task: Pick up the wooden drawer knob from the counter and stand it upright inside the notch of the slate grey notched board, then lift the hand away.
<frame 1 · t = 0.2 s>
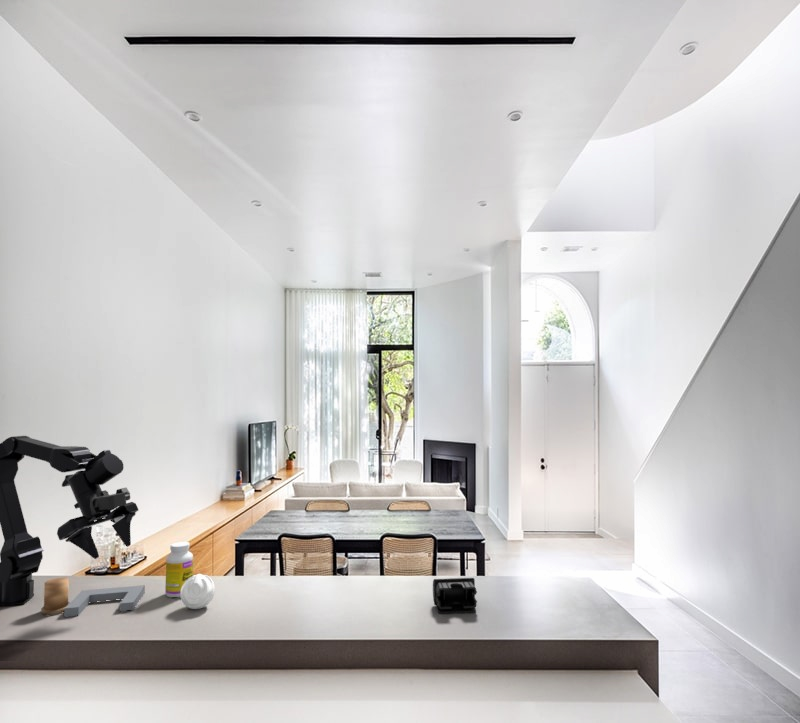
hand: (113, 551, 130), 15 cm above the kitchen counter, tool tilted 30°, fingers open, 9 cm apart
white rounded piece: (197, 608, 132), on the kitchen counter
notched board: (106, 604, 135), on the kitchen counter
wooden drawer knob: (56, 610, 131), on the kitchen counter
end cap: (455, 609, 131), on the kitchen counter
supplement bottle: (179, 594, 141), on the kitchen counter
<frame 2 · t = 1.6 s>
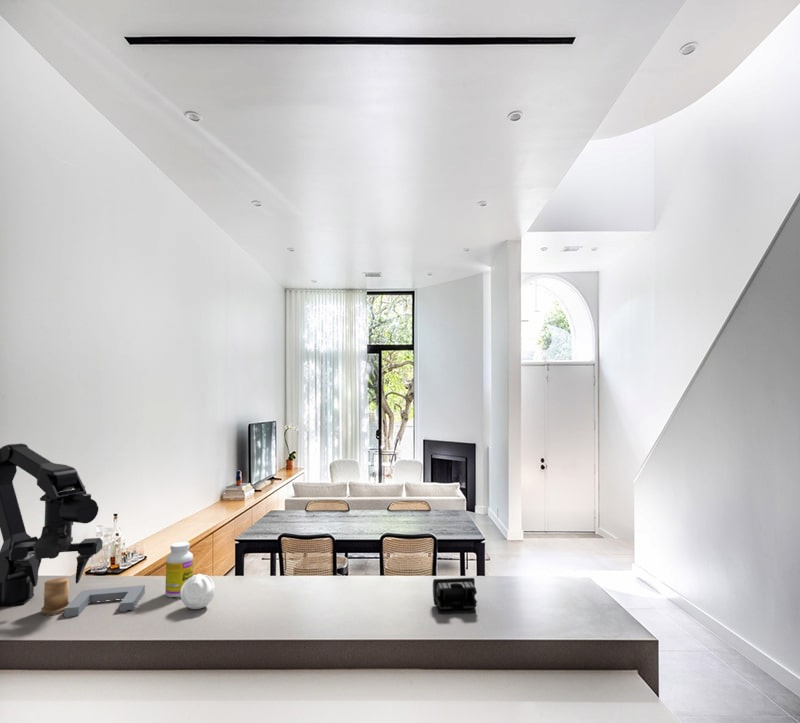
hand: (56, 584, 132), 6 cm above the kitchen counter, tool pointing down, fingers open, 9 cm apart
nothing on the kitchen counter moved.
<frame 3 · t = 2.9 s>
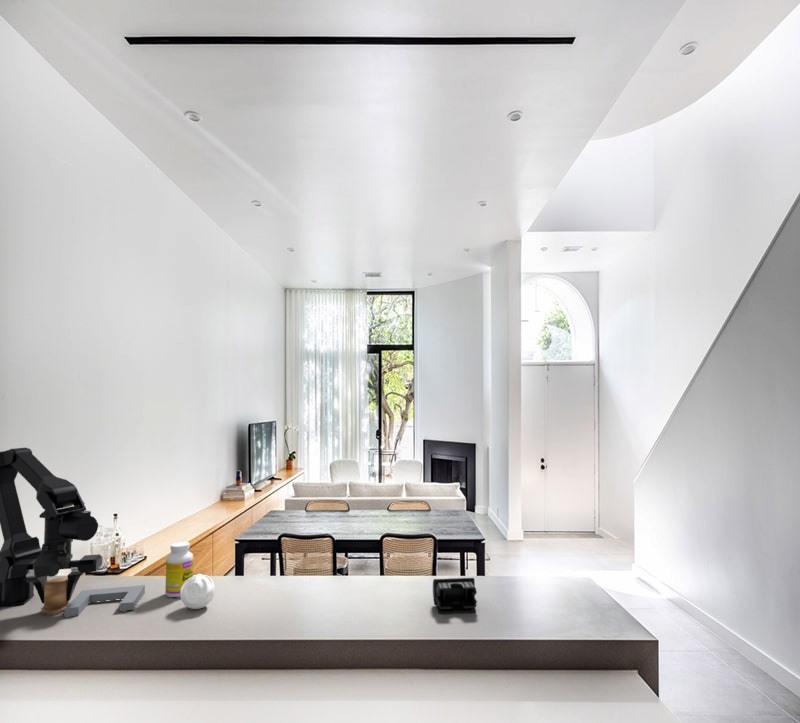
hand: (56, 601, 131), 2 cm above the kitchen counter, tool pointing down, fingers closed on wooden drawer knob, 5 cm apart
wooden drawer knob: (55, 610, 131), on the kitchen counter, touching gripper
everything else where it was.
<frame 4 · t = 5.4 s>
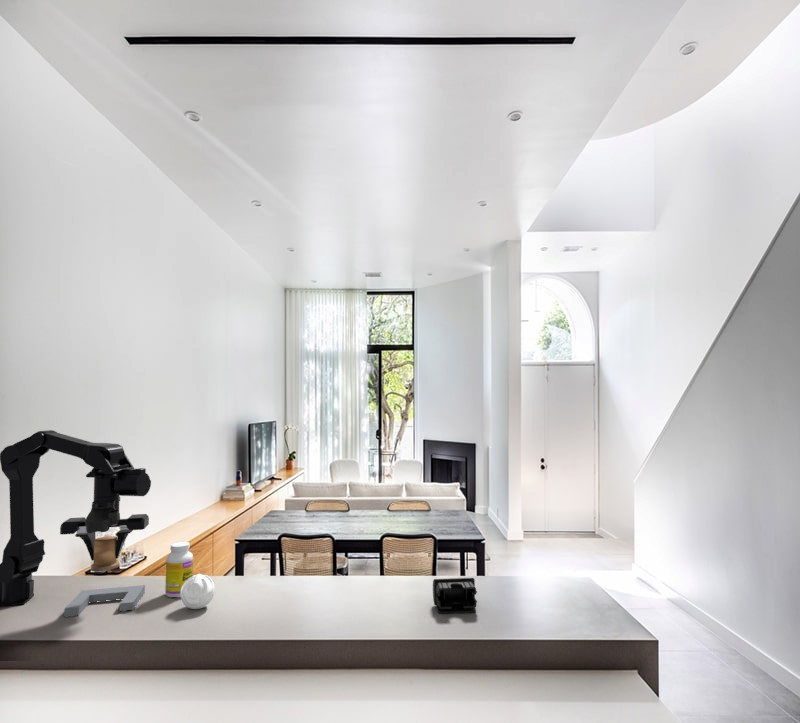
hand: (105, 559, 133), 12 cm above the kitchen counter, tool pointing down, fingers closed on wooden drawer knob, 5 cm apart
wooden drawer knob: (104, 567, 133), point 10 cm above the kitchen counter, touching gripper
everything else where it was.
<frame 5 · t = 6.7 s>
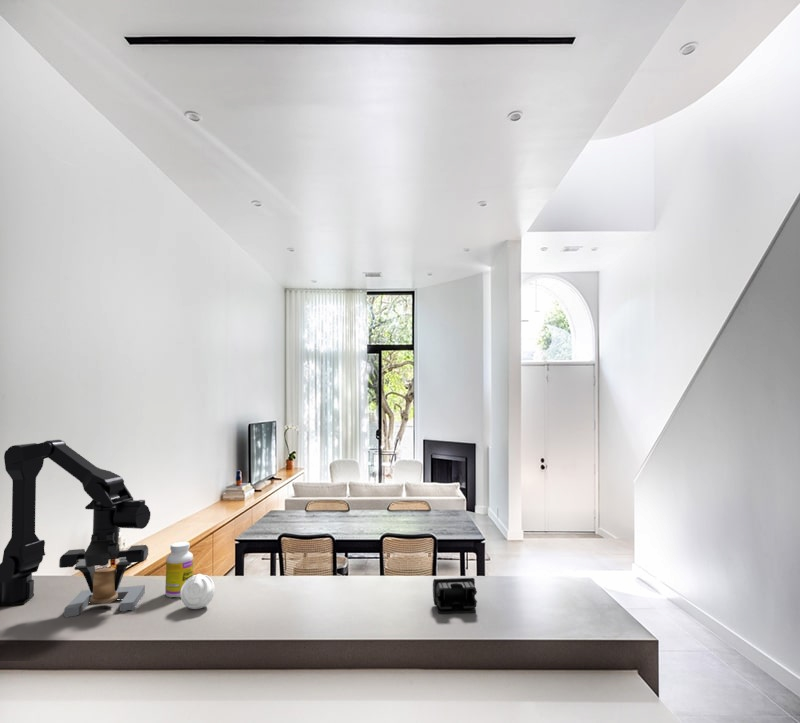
hand: (104, 591, 133), 4 cm above the kitchen counter, tool pointing down, fingers closed on wooden drawer knob, 5 cm apart
wooden drawer knob: (104, 599, 133), point 2 cm above the kitchen counter, touching gripper
everything else where it was.
when the fingers open (3 cm above the kitchen counter, at t = 7.6 s): wooden drawer knob drops 2 cm, on the kitchen counter.
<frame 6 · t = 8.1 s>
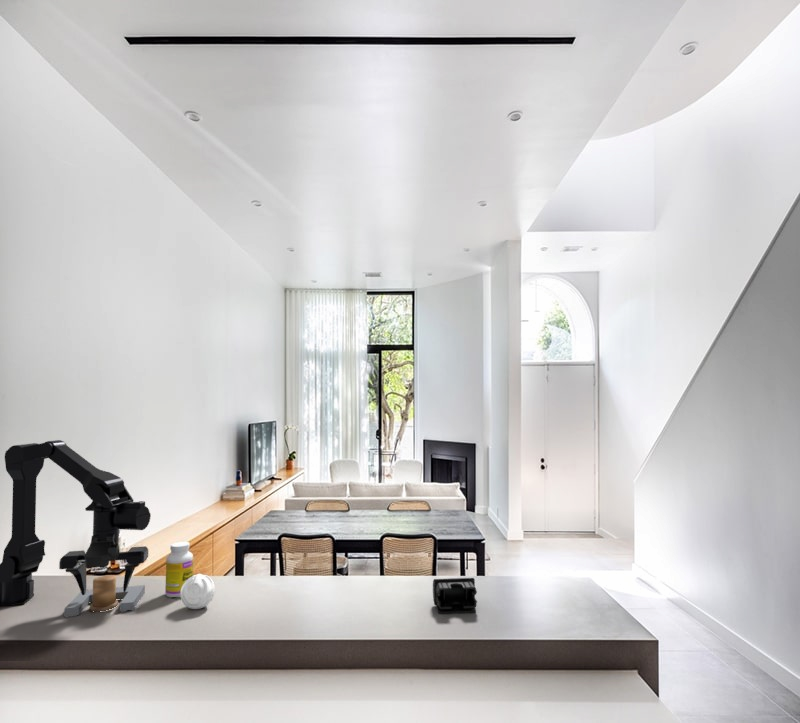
hand: (104, 592, 133), 3 cm above the kitchen counter, tool pointing down, fingers open, 9 cm apart
wooden drawer knob: (104, 607, 133), on the kitchen counter
everything else where it was.
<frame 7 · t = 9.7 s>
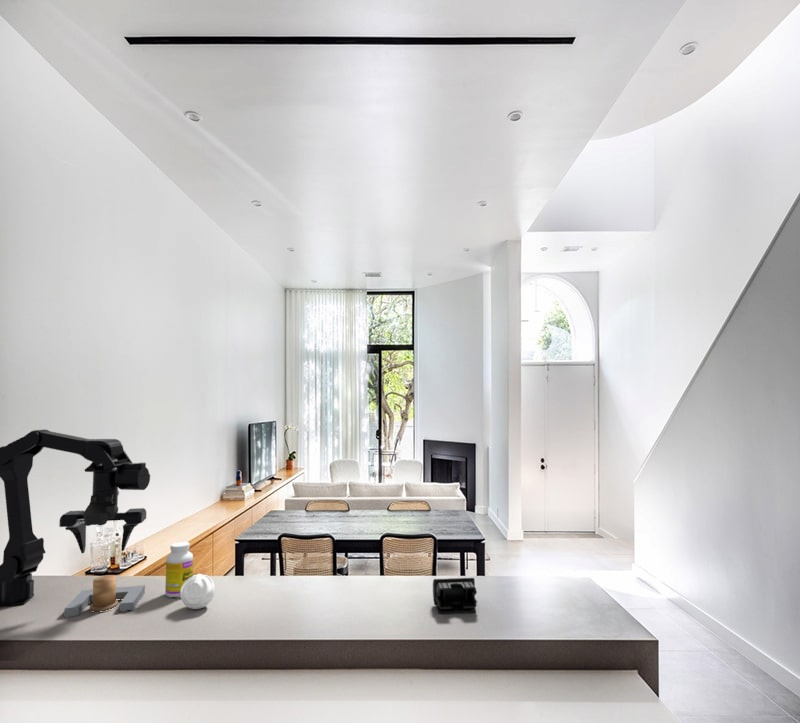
hand: (103, 551, 136), 13 cm above the kitchen counter, tool pointing down, fingers open, 9 cm apart
nothing on the kitchen counter moved.
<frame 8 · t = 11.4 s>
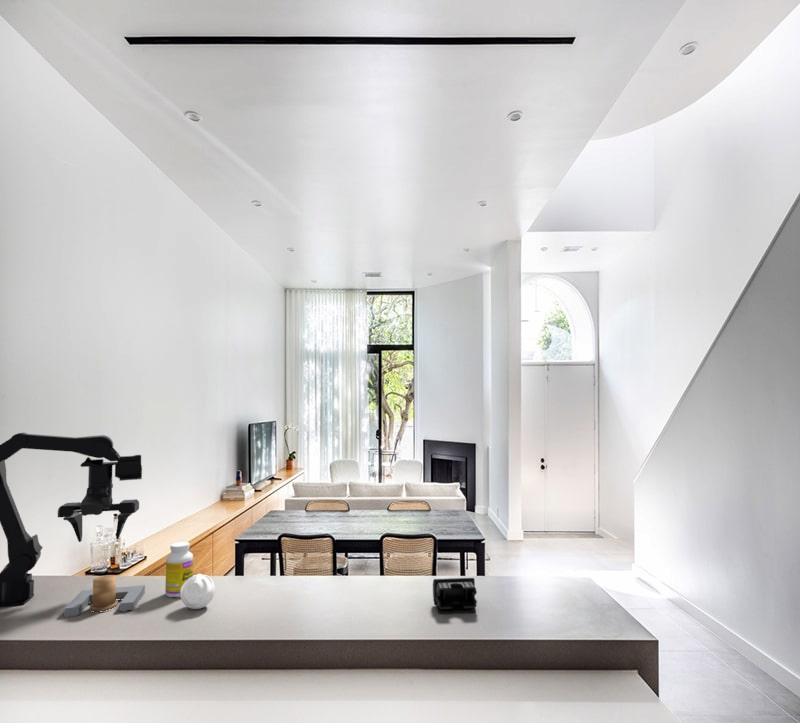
hand: (99, 540, 146), 13 cm above the kitchen counter, tool pointing down, fingers open, 9 cm apart
nothing on the kitchen counter moved.
at the end: wooden drawer knob 0.1 cm from the target spot on the notched board, point 0.0 cm above the notched board's base; wooden drawer knob tilted 0°; the gripper is holding nothing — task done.
